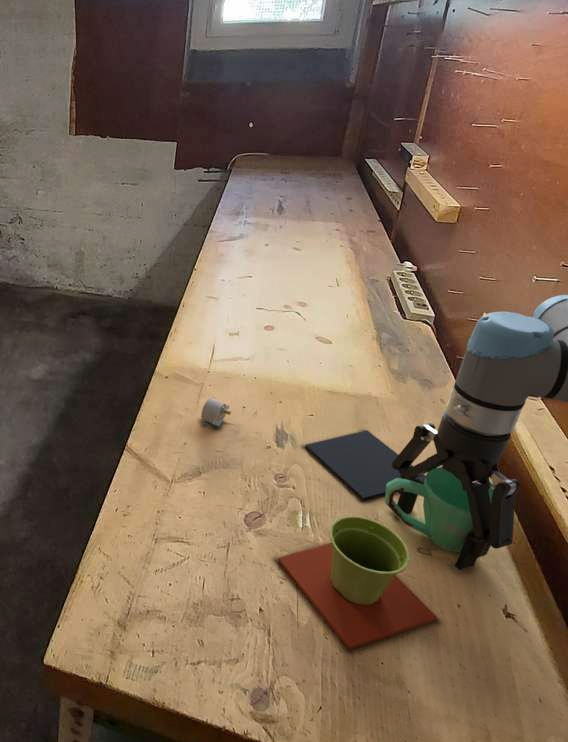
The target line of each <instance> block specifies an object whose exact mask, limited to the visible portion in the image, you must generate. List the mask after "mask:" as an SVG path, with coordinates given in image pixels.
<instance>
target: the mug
mask: <svg viewBox="0 0 568 742" xmlns="http://www.w3.org/2000/svg"><path fill="white" fill-rule="evenodd" d="M425 476H426V477H425V480H424V484H420V483H417V482H414V481H410V480H406V479H400V478H395V479H394V480H392V481H390V482H388V483H387V484H386V494H385V495H384V496H385V497H384V502H385V505H386V506H387V507H388V508H389V509H390V510H391V511H392V512H393V514H394V515H395V516H396V517H397V518H398V519H399V521H401V522H402V524H404V525H406V526H408V527H409V528H412V529H414V530H415V531H418V532H420V533H421V534H423V535H425V536H427V537H428V538H429V540H430V541H431V542H432V543H433V544H435V545H436V546H437V547H439V548H441V549H443V550H445V551H449V552H453V553H457V552H458V553H460V552H461V549H462V547H463V545H464V542H465V540H466V538H467V535H468V534H469V533H473V532H474V528H473V523H472V518H471V513H470V508H469V503H468V498H467V493H466V491H464V490H463V487H462V482H461V481H460V480H459V479H457V478H456V477H455V476H454V475H453V474H452V473H451V472H448V471H446V470H445V469H444V468H442V466H439V467H437V468H435V469H433V470H430V471H428V472H427V473H426V475H425ZM477 482H478V481H474V482H473V483H477ZM491 486H493V482H491V481H490V488H489V496H490V501H491V499H492V493H493V491H494V490H492V489H491ZM398 491H405V492H411V493H414V494H417V495H418V496H419V497H423V503H422V507H423V515H424V521H422V520H420V519H418V518H416V517H414V516H411V515H410V514H406V513H404V512H403V511H402V510H401V509H400V508H399V506H398V505H397V502H396V501H395V500H394V497H395V496H394V495H395V494H396V493H398Z"/></svg>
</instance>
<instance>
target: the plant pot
mask: <svg viewBox="0 0 568 742" xmlns="http://www.w3.org/2000/svg"><path fill="white" fill-rule="evenodd" d="M329 541H330V543H332V547H333V554H332V568H331V581H332V584H333V586H334V588H335V589H337V590H338V591H339V592H340V593H341V594H342V595H343V597H344V598H346V599H348V600H349V601H351V602H354V603H357V604H361V605H369V604H372V603H374V602H376V601H377V600H378V599H379V598H380V596H381V595H382V593H383V592H384V590H385V589H386V587H387V586H388V584H389V583H390V581H391V580H392V579H393V577H394V576H397V575H398V574H400V573H403V572H404V571H405V570H407V568H408V567H409V565H410V562H411V554H410V551H409V550H410V549H409V548H408V546H407V545H406V543H405V541H404V540H403V539H402V538H401V537H400V536H399V535H398V534H397V533H396V532H395V531H394V530H392V528H390V527H388V526H386V525H385V524H383V523H381V522H379V521H377V520H374V519H372V518H368V517H364V516H359V515H348V516H347V515H345V516H341V517H339V518H337V519H335V520H334V521H333V522H332V524H331V525H330V526H329Z"/></svg>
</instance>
